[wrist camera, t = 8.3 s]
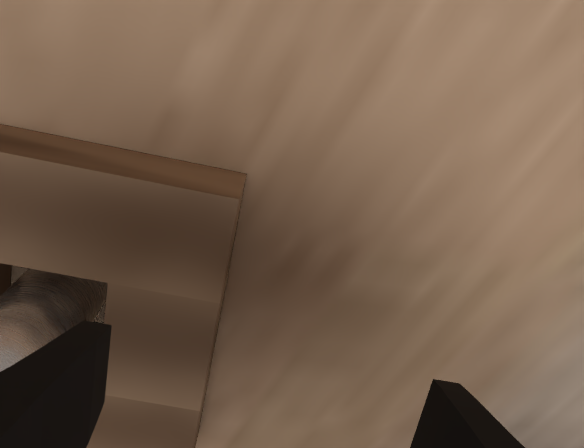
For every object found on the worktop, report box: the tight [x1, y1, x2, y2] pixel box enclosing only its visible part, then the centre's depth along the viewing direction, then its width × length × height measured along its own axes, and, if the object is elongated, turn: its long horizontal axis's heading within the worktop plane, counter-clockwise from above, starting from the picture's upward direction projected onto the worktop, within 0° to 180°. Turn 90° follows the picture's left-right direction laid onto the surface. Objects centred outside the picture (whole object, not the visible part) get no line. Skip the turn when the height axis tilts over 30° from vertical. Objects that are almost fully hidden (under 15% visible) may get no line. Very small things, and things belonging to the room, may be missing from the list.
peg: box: [0, 268, 108, 372], centre depth 18 cm, size 3×3×9 cm
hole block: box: [0, 124, 247, 448], centre depth 20 cm, size 12×12×3 cm
